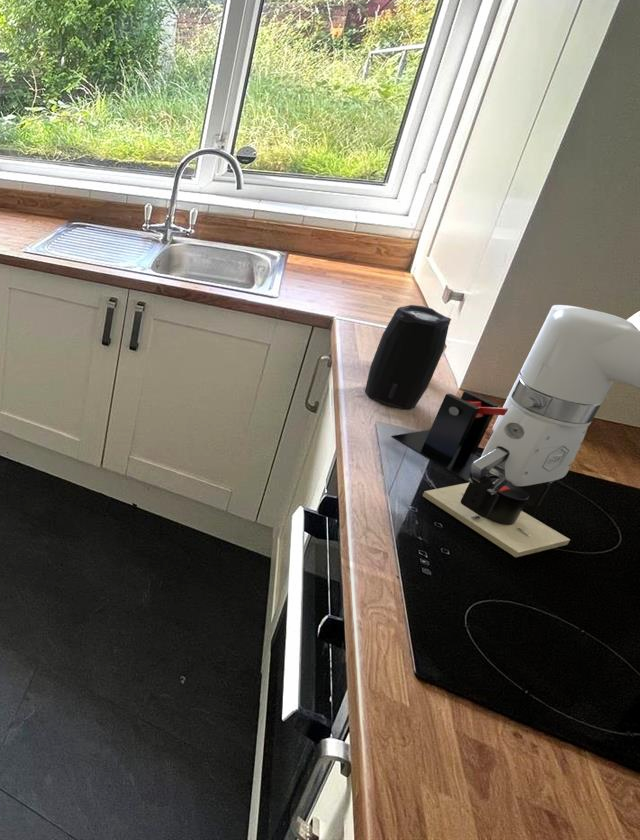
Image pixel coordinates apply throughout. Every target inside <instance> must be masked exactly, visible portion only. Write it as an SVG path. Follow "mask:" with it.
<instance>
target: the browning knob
mask: <svg viewBox="0 0 640 840" xmlns="http://www.w3.org/2000/svg"><path fill="white" fill-rule="evenodd" d="M490 479H491V482H492V484H493V483H494V482H495V481H496V480H497V479H498V478H490ZM497 494H498V495H499V497H498V499H497V501H496V503H495V505H494V507H493V509H492V511H491V513H490V515H489V516H488V517H485V518H487V519H489V520H491V521H494V522H496V523H499V524H504V525H513V524H515V522H516V520H517V518H518V517H519V515H520V513H521V511H523V509H524V507H525V505H526V504H527V503H526V502H527V500H528V498H529V496H528V494H527V493H526V492H525V491H524V490H523V489H521V488H520V487H518V486H515V485H513V484H512V482H510V481H509V482H508V483H507V484H505V485H504V486H503V487H502V488H501V489H500V490H499V491H498V492H497Z"/></svg>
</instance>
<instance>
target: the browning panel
mask: <svg viewBox="0 0 640 840" xmlns="http://www.w3.org/2000/svg"><path fill="white" fill-rule="evenodd" d="M469 483H470V482H469V481H468V482H465V483H459V484H454V485H449V486H444V487H439V488H434V489H429V490H424V492H423V494H422V498H425V499H426V500H428V501H429V502H430V503H432V504H434V505H435V506H436V507H438V508H440V509H442V510H443V511H444V512H446V513H448V514H449V515H451V516H452V517H453V518H455V519H456V520H458V521H460V522H461V523H462V524H464V525H465V526H467V527H469V528H470V529H472V530H473V531H475V532H476V533H478V534H479V535H481V536H482V537H483V538H486V539H487V540H488V541H490V542H491V543H493V544H494V545H496V546H497V547H499V548H500V549H502V550H504V552H506V553H508V554H510V555H511V556H512V557H513V558H519V557H523V556H527V555H528V556H529V555H532V554H535V553H540V552H543V551H547V550H552V549H556V548H559V547H563V546H567V545H568V544H569V543H570V541H571V539H570V538H569V537H567V536H565V535H564V534H562V533H560V532H558V531H557V530H555V529H553V528H552V527H550V526H548V525H546V524H545V523H543V522H541V521H540V520H538V519H536V518H535V517H533V516H532V515H530V514H528V513H526V512H525V511H523V510H522V511H521V513H520V515H519V517H518V518H517V520H516V522H515V524H513V525H504V524H499V523H496V522H494V521H491V520H489V519H487V518H483V517H481V516H479V515H478V514H476V513H475V512H473V511H472V510H470V509H469V508H467V507H465V506H464V505H462V504H461V499H462V497H463V495H464V493H465V491H466V489H467V487H468V485H469Z"/></svg>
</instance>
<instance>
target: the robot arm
mask: <svg viewBox="0 0 640 840" xmlns="http://www.w3.org/2000/svg"><path fill="white" fill-rule="evenodd" d="M582 308H583V307H580V308H565V309H561V310H558V311H556V312H555V313H554V314H553V315H552V316H551V317H550V319H549V321H548V322H547V324H546V326H545V328H544V331H543V333H542V335H541V337H540V339H539V341H538V343H537V345H536V347H535V349H534V351H533V353H532V355H531V357H530V359H529V361H528V363H527V365H526V367H525V369H524V371H523V373H522V375H521V377H520V379H519V381H518V383H517V385H516V387H515V389H514V391H513V393H512V395H511V397H510V402H511V403H512V404H513V405H511V407H510V408H509V409H508V411H507V412H506V414H505V415H504V416H503V418H502V419H501V421H500V423H499V424H498V426H497V427H496V429H495V431H493V432H492V434H491V436H490V437H489V439H488V441H487V443H486V445H485V446H484V449H483V451H482V454H481V455H480V459H478V460H476V461H475V462H473V463H472V465H471V472H470V475H469V476H470V478H469V481H468V483H469V482H470V483H469V485H468V487H467V489H466V491H465V493H464V495H463V497H462V499H461V504H462V505H464V506H465V507H467V508H469V509H470V510H472V511H473V512H475V513H476V514H478V515H479V516H481V517H483V518H485V517H488V516H489V515H490V513H491V511H492V509H493V507H494V505H495V503H496V501H497V499H498V497H499V495H498V494H497V492H498V491H499V490H500V489H501V488H502V487H503V486H504V485H505V484H507V483H508V482H510V483H512V484H513V485H515V486H518V487H520V488H521V489H523V490H524V491H525V492H526V493H527V494H528V496H529V498H528V500H527V502H526V504H527V505H529V506H531V507H532V508H538V507H540V505H541V503H542V501H543V500H544V498H545V496H546V494H547V492H548V491H549V489H550V487H551V484H553V483H554V482H555V481H557V480H560V479H563V478H564V477H566V476H567V474H568V473H569V471H570V470H571V468H572V467H571V466H573V463H574V461H575V459H576V457H577V454H578V453H579V451H580V448H581V446H582V444H583V442H584V439H585V437H586V434H587V431H588V429H589V426H590V425H591V424H592V421H593V419H594V418H595V416H596V414H597V412H599V409H600V407H601V405H602V404H603V402H604V400H605V398H606V396H607V395H608V393H609V392H610V390H611V388H612V387H613V384H614V383H615V382H619V383H621V384H625V385H628V386H631V387H633V388H637V389H640V310H639V311H637V312H635V313H633V315H631V316H630V317H628V318H627V319H625V318H623V317H620V316H617V315H614V314H610V313H607V312H603V311H600V310H595V309H588V308H585V309H582ZM494 467H498V468H500V469H501V470H503V471H505V474H504V473H502V472H500V471H499V470H497V469H495V468H494ZM489 472H490V473H492V474H493V475H495V476H494V477H497V478H496V479H497V480H496V481H495V482H494V483H493V484H492V482H491V479H492V478H491V477H487V475H488V473H489Z"/></svg>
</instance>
